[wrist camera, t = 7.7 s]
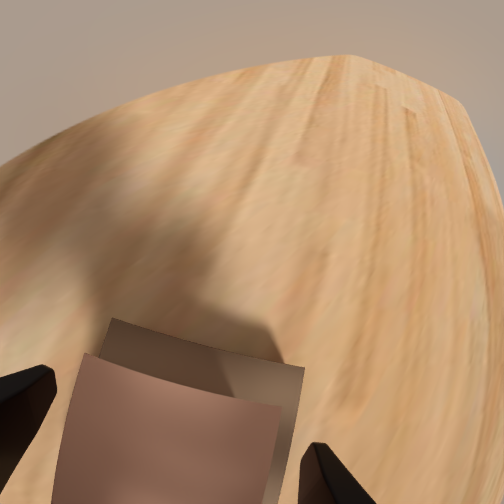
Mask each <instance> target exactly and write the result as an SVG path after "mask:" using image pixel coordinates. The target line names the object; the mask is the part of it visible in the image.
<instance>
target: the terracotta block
mask: <svg viewBox="0 0 504 504" xmlns="http://www.w3.org/2000/svg"><path fill="white" fill-rule="evenodd" d="M281 411H282V407H281V406H275V405H269V404H263V403H258V402H252V401H247V400H242V399H237V398H233V397H228V396H223V395H219V394H215V393H210V392H206V391H202V390H198V389H194V388H190V387H187V386H183V385H179V384H176V383H172V382H169V381H165V380H162V379H159V378H155V377H152V376H149V375H146V374H143V373H139V372H136V371H133V370H130V369H127V368H125V367H122V366H119V365H116V364H113V363H110V362H108V361H105V360H102V359H100V358H97V357H95V356H92V355H89V354H87V353H84V356H83V359H82V362H81V366H80V369H79V372H78V376H77V379H76V383H75V386H74V390H73V394H72V398H71V401H70V405H69V409H68V413H67V418H66V422H65V426H64V431H63V435H62V440H61V445H60V450H59V455H58V461H57V466H56V472H55V479H54V485H53V493H52V500H51V504H262V501H263V497H264V493H265V488H266V484H267V479H268V475H269V470H270V466H271V461H272V457H273V452H274V447H275V442H276V437H277V432H278V427H279V422H280V417H281Z"/></svg>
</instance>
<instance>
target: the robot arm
mask: <svg viewBox="0 0 504 504" xmlns="http://www.w3.org/2000/svg"><path fill="white" fill-rule="evenodd" d="M56 393H57V385H56V378H55V372H54V370H53V369H52V368H50V367H48V366H46V365H43V364H41V365H38V366H35V367H32V368H28V369H25V370H22V371H19V372H16V373H13V374H10V375H6V376H3V377H0V494H1V492H2V490H3V489H4V487H5V485H6V483H7V482H8V480H9V478H10V476H11V475H12V473H13V471H14V470H15V468H16V466H17V464H18V463H19V461H20V459H21V458H22V456H23V455H24V453H25V451H26V450H27V448H28V447H29V445H30V443H31V442H32V440H33V439H34V437H35V435H36V434H37V432H38V430H39V428H40V426H41V424H42V422H43V420H44V418H45V416H46V414H47V412H48V410H49V408H50V406H51V404H52V402H53V400H54V398H55V396H56ZM298 504H376V502H375V501H374V500H373V499H372V498H371V497H370V496H369V494H368V493H367V492H366V491H365V490H364V489H363V487H362V486H361V485H360V484H359V483H358V481H357V480H356V479H355V478H354V477H353V476H352V474H351V473H350V472H349V471H348V470H347V468H346V467H345V466H344V465H343V463H342V462H341V461H340V460H339V459H338V457H337V456H336V455H335V454H334V452H333V451H332V450H331V449H330V447H329V446H328V445H327V444H326V443H319V442H313V443H311V444H310V446H309V447H308V449H307V451H306V452H305V454H304V455H303V457H302V459H301V463H300V477H299V492H298Z"/></svg>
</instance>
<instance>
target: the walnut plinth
mask: <svg viewBox="0 0 504 504" xmlns="http://www.w3.org/2000/svg"><path fill="white" fill-rule="evenodd" d="M99 358H100V359H102V360H105V361H108V362H110V363H113V364H116V365H119V366H122V367H125V368H127V369H130V370H133V371H136V372H139V373H143V374H146V375H149V376H152V377H155V378H159V379H162V380H165V381H169V382H172V383H176V384H179V385H183V386H187V387H190V388H194V389H198V390H202V391H206V392H210V393H215V394H219V395H223V396H228V397H233V398H237V399H242V400H247V401H252V402H258V403H263V404H269V405H275V406H281V407H282V411H281V417H280V422H279V427H278V432H277V437H276V442H275V447H274V452H273V457H272V461H271V466H270V470H269V475H268V479H267V484H266V488H265V493H264V497H263V501H262V504H277V503H278V499H279V495H280V491H281V487H282V483H283V478H284V474H285V470H286V465H287V461H288V456H289V451H290V447H291V442H292V437H293V432H294V427H295V422H296V416H297V411H298V406H299V400H300V394H301V389H302V383H303V377H304V370H305V368H304V367H299V366H293V365H288V364H283V363H278V362H273V361H268V360H263V359H259V358H254V357H250V356H245V355H241V354H237V353H232V352H228V351H224V350H220V349H216V348H212V347H208V346H204V345H201V344H197V343H193V342H190V341H186V340H182V339H179V338H175V337H172V336H168V335H165V334H162V333H158V332H155V331H152V330H149V329H145V328H142V327H139V326H136V325H133V324H130V323H127V322H124V321H121V320H118V319H115V318H112V320H111V322H110V325H109V328H108V331H107V334H106V337H105V340H104V343H103V346H102V349H101V352H100V355H99Z"/></svg>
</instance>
